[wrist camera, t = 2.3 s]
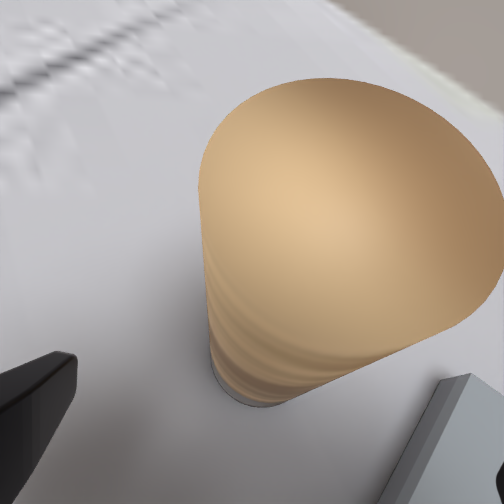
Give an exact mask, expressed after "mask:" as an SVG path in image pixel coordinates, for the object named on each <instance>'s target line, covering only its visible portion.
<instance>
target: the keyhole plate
mask: <svg viewBox="0 0 504 504" xmlns="http://www.w3.org/2000/svg"><path fill="white" fill-rule="evenodd" d="M503 462H504V396H503V395H501V394H500V393H499V392H497V391H496V390H494V389H493V388H492V387H490V386H489V385H488V384H486V383H485V382H483V381H482V380H481V379H479V378H478V377H477V376H475V375H474V374H472V373H469V374H465V375H461V376H456V377H452V378H448V379H443V380H441V381H440V383H439V385H438V387H437V389H436V391H435V393H434V395H433V397H432V398H431V400H430V402H429V404H428V406H427V408H426V410H425V412H424V414H423V416H422V418H421V420H420V422H419V424H418V426H417V427H416V429H415V431H414V433H413V435H412V437H411V439H410V441H409V443H408V445H407V447H406V449H405V451H404V453H403V454H402V456H401V458H400V460H399V462H398V464H397V466H396V468H395V470H394V472H393V474H392V476H391V478H390V480H389V481H388V483H387V485H386V487H385V489H384V491H383V493H382V495H381V497H380V499H379V501H378V503H377V504H502V503H501V500H500V497H499V494H498V491H497V488H496V475H497V473H498V471H499V469H500V467H501V465H502V464H503Z"/></svg>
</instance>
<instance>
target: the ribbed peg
mask: <svg viewBox="0 0 504 504" xmlns="http://www.w3.org/2000/svg"><path fill="white" fill-rule="evenodd" d="M198 192H199V205H200V218H201V232H202V245H203V258H204V271H205V285H206V298H207V311H208V324H209V338H210V350H211V363H212V368H213V371H214V374H215V377H216V378H217V380H218V382H219V384H220V385H221V387H222V388H223V389H224V390H225V391H226V393H227V394H229V395H230V396H231V397H232V398H234V399H235V400H237V401H238V402H241V403H243V404H245V405H248V406H252V407H272V406H276V405H279V404H281V403H284V402H286V401H288V400H290V399H293V398H295V397H297V396H299V395H302V394H304V393H306V392H308V391H310V390H313V389H315V388H317V387H319V386H322V385H324V384H326V383H328V382H331V381H333V380H335V379H337V378H340V377H342V376H344V375H346V374H348V373H351V372H353V371H355V370H357V369H360V368H362V367H364V366H366V365H369V364H371V363H373V362H375V361H378V360H380V359H382V358H384V357H386V356H389V355H391V354H393V353H395V352H398V351H400V350H402V349H404V348H407V347H409V346H411V345H413V344H416V343H418V342H420V341H422V340H424V339H427V338H429V337H431V336H433V335H436V334H438V333H440V332H442V331H444V330H447V329H449V328H451V327H453V326H455V325H457V324H458V323H460V322H461V321H462V320H464V319H465V318H467V317H468V316H470V315H471V314H472V313H473V312H474V311H475V310H476V309H477V308H479V307H480V306H481V305H482V304H483V303H484V302H485V300H486V299H487V298H488V296H489V295H490V293H491V292H492V291H493V289H494V288H495V287H496V284H497V282H498V280H499V278H500V276H501V274H502V272H503V269H504V199H503V196H502V193H501V190H500V188H499V185H498V183H497V181H496V179H495V177H494V175H493V173H492V171H491V170H490V168H489V167H488V165H487V163H486V162H485V160H484V159H483V157H482V156H481V155H480V153H479V152H478V151H477V150H476V149H475V147H474V146H473V145H472V144H471V142H470V141H469V140H468V139H467V138H466V137H465V136H464V135H463V134H462V133H461V132H460V131H459V130H458V129H456V128H455V127H454V126H453V125H452V124H450V123H449V122H448V121H447V120H445V119H444V118H443V117H441V116H440V115H438V114H437V113H436V112H434V111H433V110H431V109H430V108H428V107H426V106H424V105H423V104H421V103H419V102H417V101H415V100H414V99H411V98H409V97H407V96H405V95H403V94H400V93H398V92H395V91H393V90H390V89H387V88H384V87H381V86H377V85H373V84H369V83H365V82H360V81H354V80H348V79H335V78H317V79H306V80H298V81H293V82H289V83H284V84H281V85H278V86H275V87H272V88H269V89H266V90H264V91H262V92H260V93H258V94H256V95H254V96H252V97H251V98H249V99H248V100H246V101H244V102H243V103H241V104H240V105H239V106H238V107H236V108H235V109H234V110H233V111H232V112H231V113H229V114H228V115H227V116H226V118H225V119H224V120H223V121H222V122H221V123H220V125H219V126H218V127H217V129H216V130H215V132H214V134H213V135H212V137H211V138H210V140H209V142H208V145H207V147H206V149H205V152H204V154H203V158H202V162H201V166H200V171H199V184H198Z"/></svg>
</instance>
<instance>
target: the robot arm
mask: <svg viewBox="0 0 504 504" xmlns="http://www.w3.org/2000/svg"><path fill="white" fill-rule="evenodd" d="M77 366H78V360H77V357H76V355H74V354H71V353H66V352H61V351H54V352H52V353H49V354H47V355H44V356H42V357H40V358H37V359H35V360H32V361H30V362H28V363H25V364H23V365H20V366H18V367H16V368H13V369H11V370H8V371H6V372H4V373H1V374H0V504H12V503H13V501H14V500H15V498H16V497H17V495H18V494H19V492H20V491H21V489H22V488H23V487H24V485H25V483H26V482H27V480H28V479H29V477H30V476H31V474H32V473H33V471H34V469H35V467H36V466H37V464H38V462H39V460H40V459H41V457H42V455H43V453H44V451H45V450H46V448H47V446H48V444H49V442H50V440H51V439H52V437H53V435H54V433H55V431H56V429H57V428H58V426H59V424H60V422H61V420H62V418H63V417H64V415H65V413H66V411H67V409H68V407H69V406H70V404H71V402H72V400H73V398H74V396H75V392H76V387H77ZM496 488H497V491H498V494H499V497H500V500H501V503H502V504H504V462H503V464H502V465H501V467H500V469H499V471H498V473H497V475H496Z"/></svg>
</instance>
